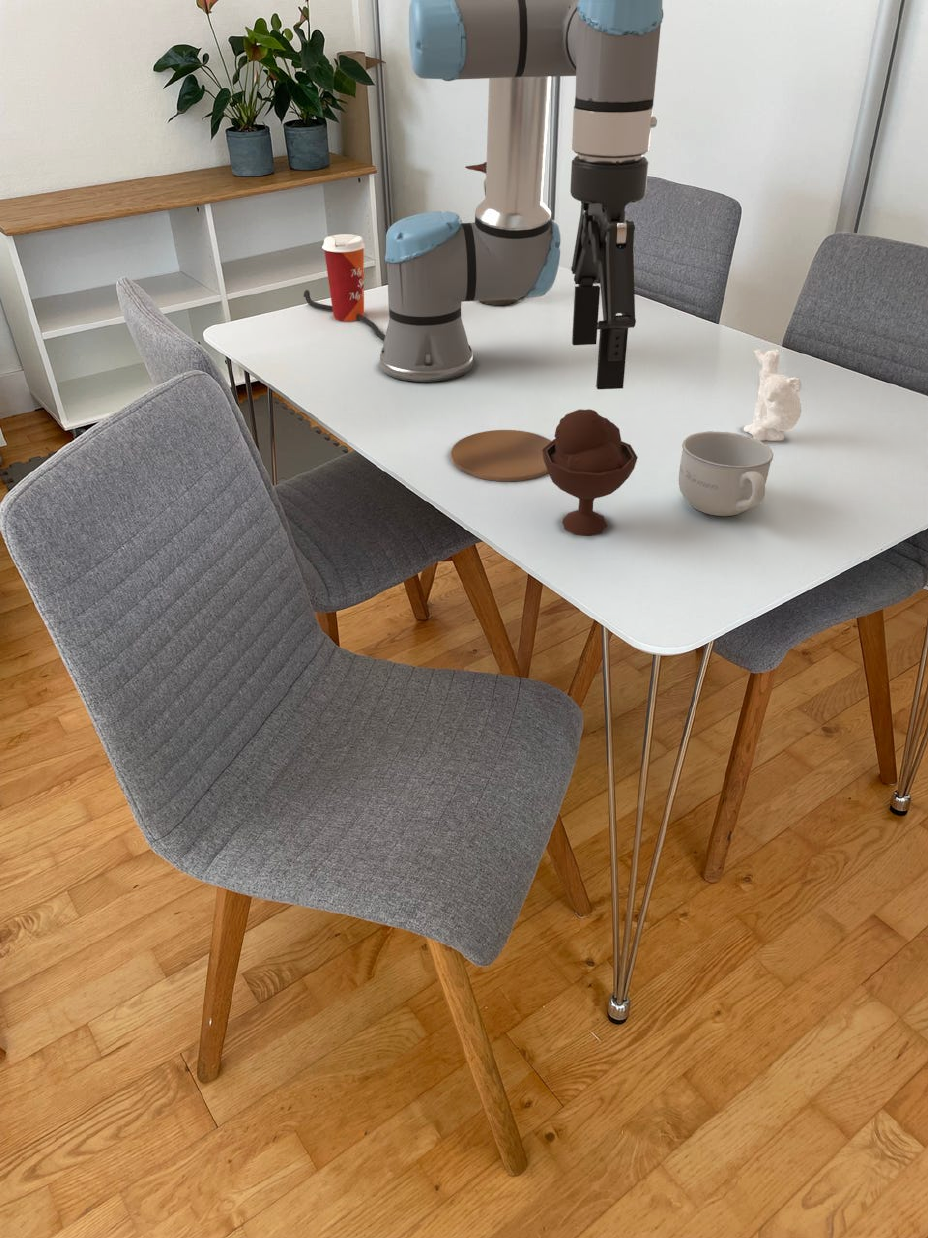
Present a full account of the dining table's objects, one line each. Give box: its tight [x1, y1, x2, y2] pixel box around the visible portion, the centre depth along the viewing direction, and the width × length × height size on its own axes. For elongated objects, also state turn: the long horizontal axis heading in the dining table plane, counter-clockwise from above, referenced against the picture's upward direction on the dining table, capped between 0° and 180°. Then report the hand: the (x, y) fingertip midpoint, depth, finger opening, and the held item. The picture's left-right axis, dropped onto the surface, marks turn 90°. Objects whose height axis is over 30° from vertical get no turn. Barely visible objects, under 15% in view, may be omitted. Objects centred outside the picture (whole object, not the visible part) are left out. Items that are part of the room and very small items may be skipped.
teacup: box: [678, 430, 774, 517], centre depth 123 cm, size 14×11×8 cm
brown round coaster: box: [450, 429, 553, 482], centre depth 138 cm, size 15×15×1 cm
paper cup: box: [321, 233, 366, 322], centre depth 183 cm, size 8×8×14 cm
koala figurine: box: [742, 348, 802, 442], centre depth 139 cm, size 8×7×12 cm
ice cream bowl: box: [542, 409, 639, 537], centre depth 118 cm, size 11×11×15 cm
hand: (596, 364), depth 111 cm, fingers open, 13 cm apart
